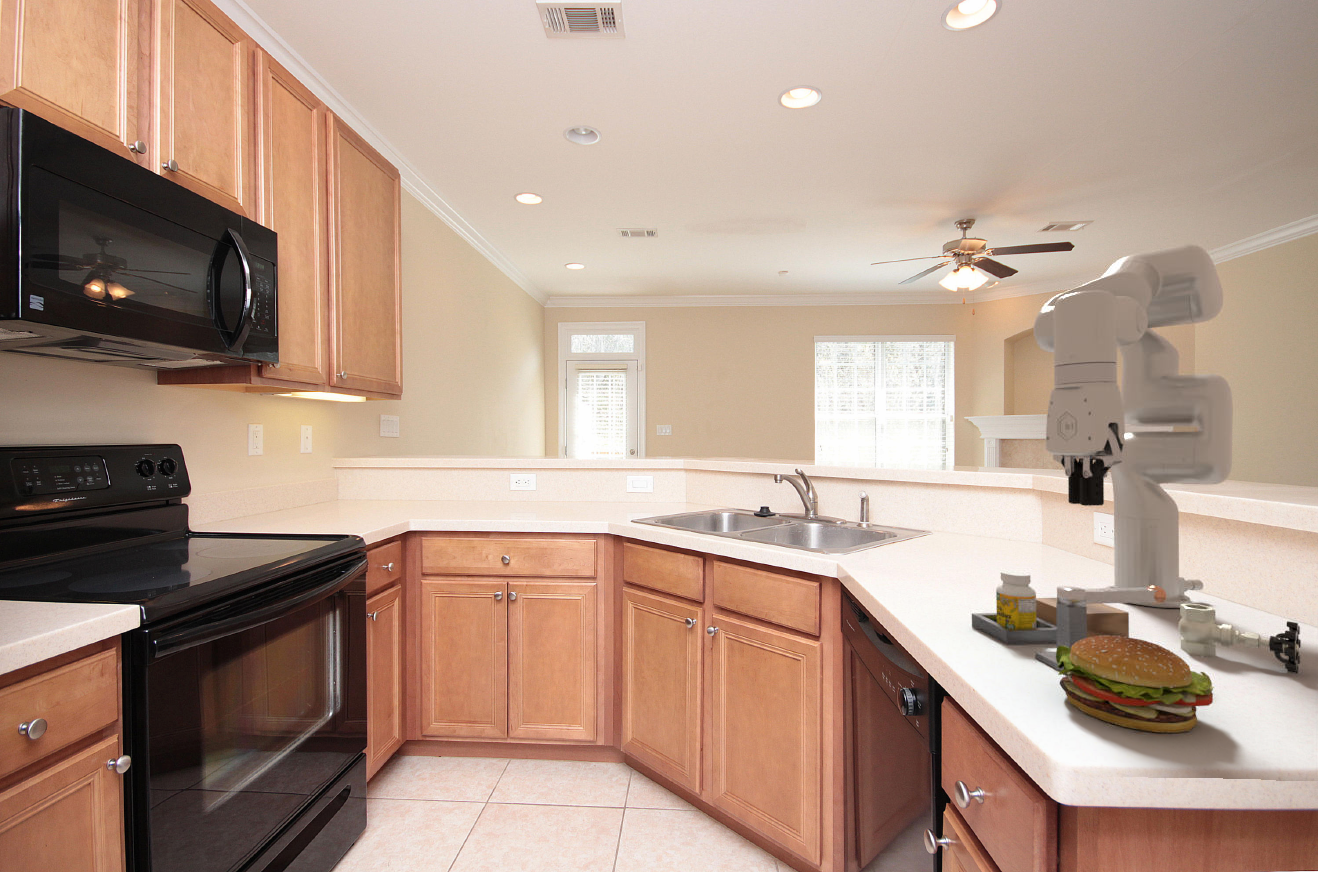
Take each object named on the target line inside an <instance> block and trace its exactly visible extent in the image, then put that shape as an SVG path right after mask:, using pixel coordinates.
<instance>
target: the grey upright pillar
mask: <svg viewBox="0 0 1318 872" xmlns="http://www.w3.org/2000/svg"><path fill="white" fill-rule="evenodd" d="M1056 616H1057V643H1056V649H1057V648H1058V647H1059V646H1066V647H1068V648H1070V649H1071V647H1072V645H1073V644H1074V643H1076V642H1078V641H1079V640H1081V639H1084V638H1087V607H1070V606H1064V605H1061V604H1058V603H1057V602H1056ZM1034 655H1035V656H1034V657H1035V659H1037V660H1039V661H1041V662H1042V663H1044V664H1046V665H1047V666H1050V667H1052V668H1053V669H1055V670H1057V671H1058V672H1059V671H1061V670H1063V669H1064V667H1062V668H1061V669H1060V668H1059V667H1058V663H1057V661H1056V651H1035V652H1034ZM1064 675H1066V676H1068V674H1067V673H1065V674H1064Z"/></svg>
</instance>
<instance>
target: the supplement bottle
mask: <svg viewBox="0 0 1318 872" xmlns="http://www.w3.org/2000/svg"><path fill="white" fill-rule="evenodd" d="M1000 580H1001V581H1002V583H999V585H997V586H996V589H995V593H996V595H995V597H996V598H995V599H996V601H995V602H996V604H995V605H996V613H997V623H998V624H1000V625H1002V626H1004V627H1006V628H1008V629H1022V628H1036V598H1037V593H1036V590H1035V589H1034V588H1033V587H1032V586H1030V584H1031V582H1032V581H1031V580H1032V579H1031V574H1030V573H1028V572H1025V571H1019V570H1011V569H1010V570H1009V569H1008V570H1006V569H1005V570H1001V571H1000Z"/></svg>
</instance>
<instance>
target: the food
mask: <svg viewBox="0 0 1318 872" xmlns="http://www.w3.org/2000/svg"><path fill="white" fill-rule="evenodd" d="M1055 652H1056V661H1057V663H1058V667H1059V668H1060V669H1061V668H1062V667H1064V669H1063V670H1061V671H1059V670H1058V676H1062V675H1066V674H1065V673H1067V674H1068V675H1066V676H1063V677H1061V679H1060V681H1059V685H1060V687H1061V689H1062V690H1063V691H1064V692H1065V695H1066V697H1067V700H1068V702H1069V703H1070V704H1071V705H1073V706H1074V707H1076V708H1077V709H1078V710H1080V711H1081V712H1082V713H1084V714H1087V715H1088V716H1091V717H1094V718H1097V719H1099V720H1102V721H1105V722H1107V723H1111V724H1114V725H1118V726H1120V727H1124V728H1129V729H1134V730H1140V731H1144V732H1145V731H1146V732H1151V733H1183V732H1189V731H1191V730H1192V729H1193V728H1194V727H1195V726H1196V725H1197V724H1198V717H1197V714H1196V713H1197V707H1207V706H1210V705H1211V704H1213V701H1214V699H1213V695H1214V694H1213V689H1214V688H1215V687H1214V686H1213V682H1212V680H1211V679H1210V676H1209V675H1208V674H1207V673H1205V672H1204V671H1200V673H1198V672H1196V671H1195V670H1191V668H1190V665H1189V664H1188V663H1187V662H1186V661H1185V660H1184V659H1183V658H1182V657H1181V656H1179V655H1178V654H1176V653H1174V652H1173V651H1171V650H1170V649H1167V648H1166V647H1163V646H1161V645H1159V644H1157V643H1154V642H1150V641H1147V640H1144V639H1140V638H1139V639H1138V638H1132V637H1129V638H1128V637H1122V636H1109V635H1102V636H1093V637H1087V638H1084V639H1081V640H1079V641H1078V642H1076V643H1074V644H1073V645H1072V647H1071V649H1070V648H1068V647H1066V646H1059V647H1058V648H1057V647H1056V651H1055Z"/></svg>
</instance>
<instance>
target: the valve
mask: <svg viewBox="0 0 1318 872" xmlns="http://www.w3.org/2000/svg"><path fill="white" fill-rule="evenodd" d="M1179 615H1180V616H1181V618H1180V620H1179V622H1178V627H1177V628H1178V632H1179V635H1180V636H1181V638H1180V649H1181V650H1182V651H1183V652H1185V653H1186V654H1189V655H1194V656H1197V657H1205V658H1209V657H1216V656H1217V646H1216V644H1214V643H1220V644H1221V646H1223V647H1229V648H1233V647H1234V645H1240V643H1243V644H1244V645H1245V646H1246V647H1250V648H1256V649H1259V648H1260V646H1262V647H1263V646H1264V647H1268V648H1269V651H1270V652H1273V654H1274V656H1275V658H1276V659H1277V660H1278V661H1279V662H1280V663H1281V662H1282V663H1284V667H1285V668H1284V669H1285V670H1286V671H1287V672H1288V673H1293V674H1299V672H1300V666H1299V665H1300V664H1301V655H1300V649H1301V647H1302V640H1301V639H1300V636H1299V635H1301V626H1300V625H1299V622H1294V621H1286V627H1287V628H1288V630H1285V631H1284V632H1282V633H1280V632H1279V633H1277V634H1276V635H1275V636H1274V635H1270V637H1269V638H1265V637H1261V636H1260V634H1259V633H1255V632H1249V631H1245V633H1241V631H1240V630H1237V629H1235V627H1234V625H1232V624H1226V623H1223V624H1222V625H1219V624H1216V623H1215V622H1216V610H1215V609H1214V608H1213V607H1211V606H1209V605H1208V606H1207V605H1204V604H1197V603H1191V604H1182V605H1180V608H1179ZM1281 654H1283V655H1284V656H1286V657H1288V658H1285V657H1283V656H1282V655H1281Z"/></svg>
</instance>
